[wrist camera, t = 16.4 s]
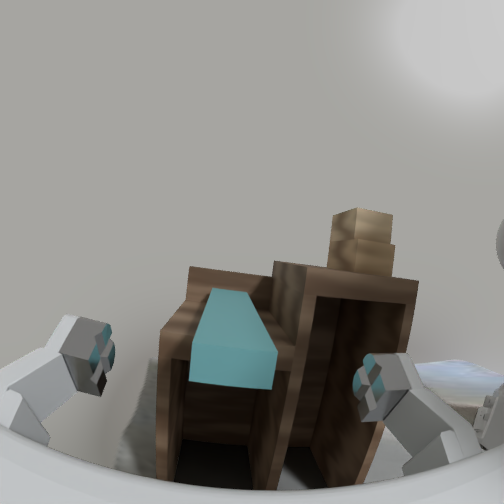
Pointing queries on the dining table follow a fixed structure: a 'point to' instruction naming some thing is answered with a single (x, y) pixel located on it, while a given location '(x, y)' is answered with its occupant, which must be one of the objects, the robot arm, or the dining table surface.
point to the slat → (232, 344)
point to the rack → (293, 358)
